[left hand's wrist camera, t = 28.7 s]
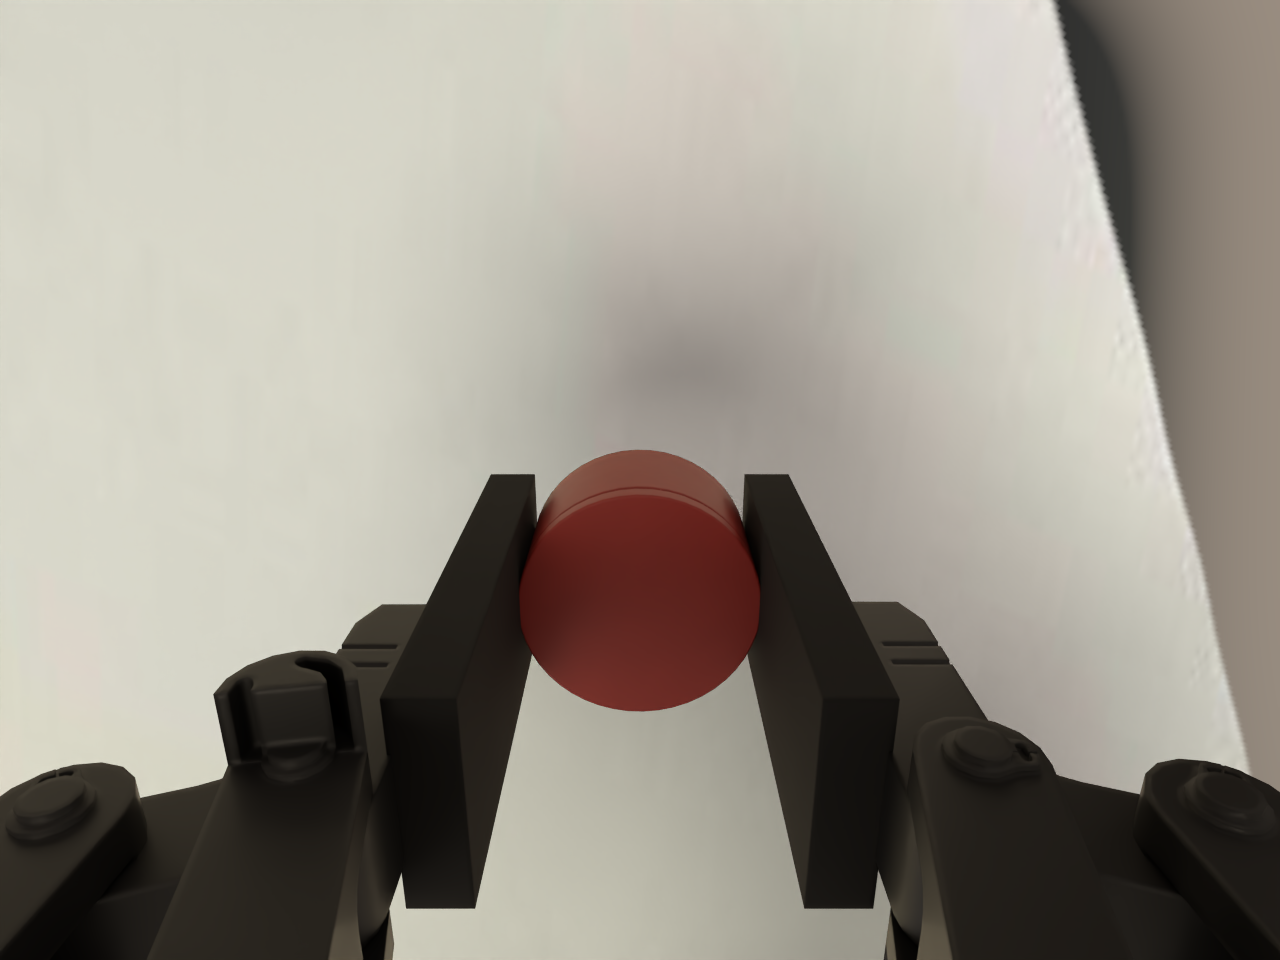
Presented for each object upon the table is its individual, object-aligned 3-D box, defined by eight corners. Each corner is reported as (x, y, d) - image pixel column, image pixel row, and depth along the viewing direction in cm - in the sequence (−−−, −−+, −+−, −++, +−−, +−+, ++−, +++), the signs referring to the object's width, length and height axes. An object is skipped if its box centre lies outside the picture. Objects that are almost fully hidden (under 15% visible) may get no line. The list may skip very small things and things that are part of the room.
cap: (759, 459, 14) (780, 507, 12) (729, 648, 15) (743, 721, 13) (540, 438, 14) (523, 484, 12) (528, 631, 15) (512, 701, 13)
